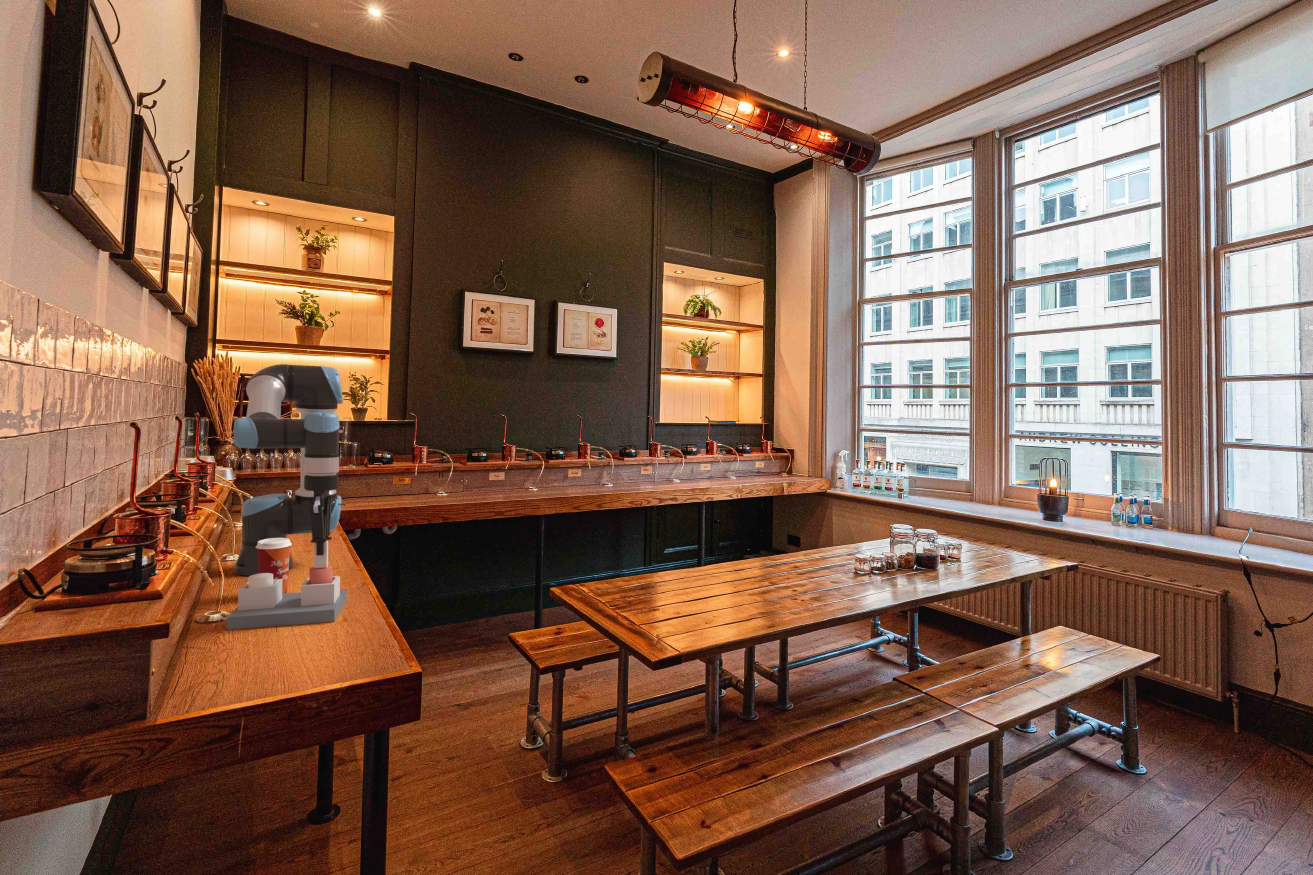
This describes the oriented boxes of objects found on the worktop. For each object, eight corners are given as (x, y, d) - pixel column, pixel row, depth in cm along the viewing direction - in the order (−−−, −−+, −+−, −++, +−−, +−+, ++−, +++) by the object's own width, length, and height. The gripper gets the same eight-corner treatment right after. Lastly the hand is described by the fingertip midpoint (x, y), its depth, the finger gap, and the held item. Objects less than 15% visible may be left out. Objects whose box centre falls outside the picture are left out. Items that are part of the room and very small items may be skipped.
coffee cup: (278, 599, 153) (278, 544, 152) (248, 598, 153) (248, 543, 152) (298, 590, 161) (298, 537, 161) (269, 589, 161) (270, 536, 161)
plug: (252, 601, 142) (252, 573, 142) (275, 599, 144) (275, 572, 144) (245, 608, 138) (245, 579, 137) (269, 606, 139) (269, 578, 139)
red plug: (312, 592, 146) (312, 565, 146) (334, 591, 148) (334, 564, 148) (307, 599, 142) (307, 571, 141) (330, 597, 143) (330, 569, 143)
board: (250, 607, 147) (250, 576, 147) (346, 600, 154) (347, 571, 154) (226, 629, 132) (226, 595, 131) (334, 621, 139) (334, 588, 139)
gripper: (311, 471, 148) (310, 561, 149) (297, 477, 136) (297, 575, 137) (343, 471, 151) (342, 559, 152) (333, 476, 139) (332, 573, 140)
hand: (321, 566), depth 144 cm, fingers closed
